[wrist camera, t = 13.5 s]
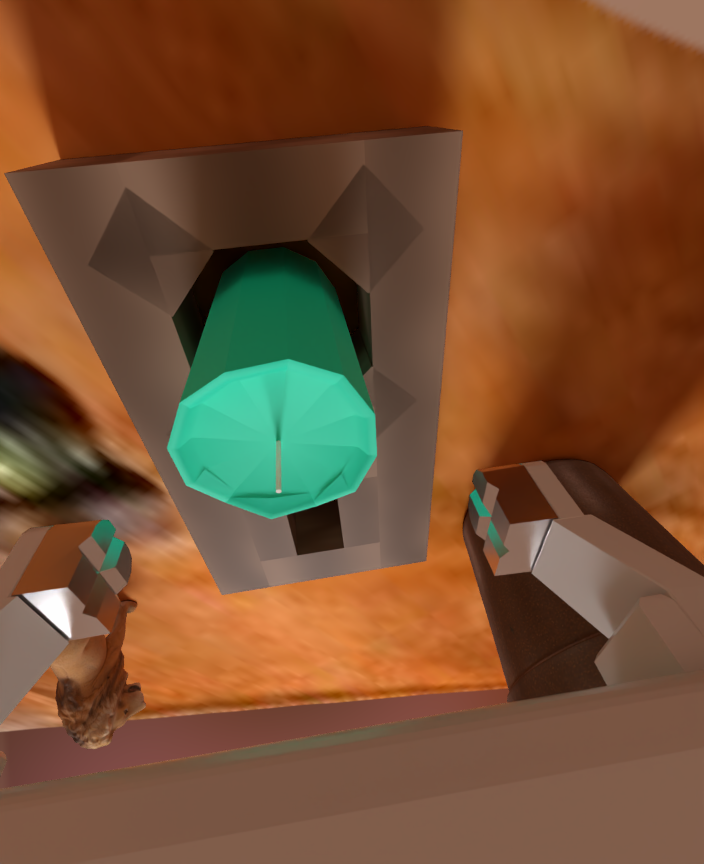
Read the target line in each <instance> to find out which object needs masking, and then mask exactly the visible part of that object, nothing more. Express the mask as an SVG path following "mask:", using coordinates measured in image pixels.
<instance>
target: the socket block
mask: <svg viewBox="0 0 704 864" xmlns="http://www.w3.org/2000/svg"><path fill="white" fill-rule="evenodd" d="M462 136H463V131H461V130H453V129H445V128H438V127H430V126H424V127H413V128H402V129H391V130H380V131H369V132H358V133H347V134H336V135H325V136H314V137H303V138H292V139H281V140H271V141H260V142H249V143H238V144H227V145H216V146H205V147H194V148H183V149H172V150H161V151H150V152H139V153H128V154H118V155H107V156H96V157H85V158H74V159H63V160H57V161H53V162H49V163H45V164H41V165H37V166H33V167H28V168H24V169H20V170H16V171H12V172H8V173H4V174H5V176H6V178H7V180H8V182H9V184H10V186H11V188H12V190H13V191H14V193H15V195H16V197H17V199H18V201H19V203H20V205H21V207H22V209H23V211H24V213H25V215H26V217H27V219H28V220H29V222H30V224H31V226H32V228H33V230H34V232H35V234H36V236H37V238H38V240H39V242H40V244H41V246H42V248H43V250H44V251H45V253H46V255H47V257H48V259H49V261H50V263H51V265H52V267H53V269H54V271H55V273H56V275H57V277H58V279H59V280H60V282H61V284H62V286H63V288H64V290H65V292H66V294H67V296H68V298H69V300H70V302H71V304H72V306H73V308H74V309H75V311H76V313H77V315H78V317H79V319H80V321H81V323H82V325H83V327H84V329H85V331H86V333H87V335H88V337H89V339H90V340H91V342H92V344H93V346H94V348H95V350H96V352H97V354H98V356H99V358H100V360H101V362H102V364H103V366H104V368H105V369H106V371H107V373H108V375H109V377H110V379H111V381H112V383H113V385H114V387H115V389H116V391H117V393H118V395H119V397H120V399H121V400H122V402H123V404H124V406H125V408H126V410H127V412H128V414H129V416H130V418H131V420H132V422H133V424H134V426H135V428H136V429H137V431H138V433H139V435H140V437H141V439H142V441H143V443H144V445H145V447H146V449H147V451H148V453H149V455H150V457H151V459H152V460H153V462H154V464H155V466H156V468H157V470H158V472H159V474H160V476H161V478H162V480H163V482H164V484H165V486H166V488H167V489H168V491H169V493H170V495H171V497H172V499H173V501H174V503H175V505H176V507H177V509H178V511H179V513H180V515H181V517H182V518H183V520H184V522H185V524H186V526H187V528H188V530H189V532H190V534H191V536H192V538H193V540H194V542H195V544H196V546H197V548H198V549H199V551H200V553H201V555H202V557H203V559H204V561H205V563H206V565H207V567H208V569H209V571H210V573H211V575H212V577H213V578H214V580H215V582H216V584H217V586H218V588H219V590H220V592H221V594H222V595H225V594H231V593H237V592H243V591H249V590H255V589H261V588H267V587H273V586H279V585H285V584H291V583H297V582H303V581H309V580H315V579H321V578H327V577H333V576H339V575H345V574H351V573H357V572H363V571H369V570H375V569H381V568H387V567H393V566H399V565H405V564H411V563H417V562H423V561H426V557H427V546H428V534H429V522H430V511H431V499H432V487H433V475H434V464H435V452H436V440H437V429H438V417H439V405H440V394H441V382H442V370H443V358H444V347H445V335H446V323H447V312H448V300H449V288H450V277H451V265H452V253H453V241H454V230H455V218H456V206H457V195H458V183H459V171H460V160H461V148H462ZM299 240H307V241H308V242H309V243H310V244H311V245H312V246H314V247H315V248H316V249H317V250H318V251H319V252H321V253H322V254H323V255H324V256H325V257H326V258H328V259H329V260H330V261H331V262H332V263H334V264H335V265H336V266H337V267H338V268H339V269H341V270H342V271H343V272H344V273H345V274H346V275H348V276H349V277H350V278H351V279H352V280H354V281H355V282H356V288H357V305H358V322H359V329H357V330H356V331H355V332H354V333H353V334H352V336H351V340H352V343H353V346H354V349H355V352H356V356H357V359H358V362H359V365H360V368H361V371H362V375H363V378H364V381H365V384H366V387H367V390H368V394H369V397H370V400H371V403H372V406H373V409H374V413H375V421H376V443H377V457H376V458H375V460H374V462H373V463H372V465H371V467H370V468H369V470H368V472H367V473H366V475H365V477H364V478H363V480H362V482H361V483H360V485H359V487H358V488H357V490H356V492H353V493H351V494H348V495H345V496H343V497H340V498H337V501H333V502H327V503H324V504H321V505H319V506H316V507H312V508H309V509H305V510H302V511H298V512H295V513H292V514H288V515H285V516H281V517H278V518H274V519H269V518H266V517H263V516H261V515H258V514H255V513H252V512H250V511H247V510H244V509H241V508H239V507H236V506H233V505H230V504H228V503H225V502H223V501H220V500H218V499H216V498H213V497H211V496H209V495H207V494H204V493H202V492H200V491H197V490H195V489H193V488H191V487H188V486H186V484H185V483H184V481H183V479H182V477H181V475H180V473H179V471H178V469H177V467H176V465H175V463H174V461H173V459H172V457H171V456H170V454H169V452H168V450H167V446H168V442H169V439H170V435H171V432H172V428H173V424H174V421H175V417H176V414H177V410H178V406H179V403H180V400H181V397H182V394H183V391H184V388H185V385H186V382H187V379H188V376H189V373H190V370H191V367H192V364H193V361H194V357H195V354H196V351H197V348H198V345H199V342H200V339H201V336H202V333H203V330H204V326H203V323H202V320H201V317H200V314H199V311H198V307H197V304H196V301H195V298H194V295H193V292H192V289H191V287H192V286H193V284H194V282H195V281H196V279H197V278H198V276H199V274H200V273H201V271H202V270H203V268H204V266H205V265H206V263H207V262H208V260H209V258H210V257H211V255H212V254H213V252H214V250H217V249H226V248H235V247H244V246H253V245H263V244H272V243H281V242H290V241H299Z"/></svg>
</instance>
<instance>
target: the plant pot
mask: <svg viewBox="0 0 704 864" xmlns="http://www.w3.org/2000/svg"><path fill="white" fill-rule="evenodd" d="M545 463H546V464H547V465H548V467H549V468H550V469H551V471H552V472H553V473H554V475H555V476H556V477H557V479H558V480H559V481H560V483H561V484H562V486H563V487H564V488H565V490H566V491H567V492H568V494H569V495H570V496H571V498H572V499H573V500H574V502H575V503H576V504H577V506H578V507H579V508H580V510H581V511H582V513H583V514H584V515H590V514H591V515H593V516H595V517H597V518H598V519H600V520H602V521H604V522H606V523H607V524H609V525H611V526H613V527H615V528H616V529H618V530H620V531H622V532H624V533H625V534H627V535H629V536H631V537H633V538H634V539H636V540H638V541H640V542H642V543H643V544H645V545H647V546H649V547H651V548H652V549H654V550H656V551H658V552H660V553H661V554H663V555H665V556H667V557H669V558H670V559H672V560H674V561H676V562H678V563H679V564H681V565H683V566H685V567H687V568H688V569H690V570H692V571H694V572H696V573H697V574H699V575H701V576H703V577H704V565H703V564H702V563H701V562H700V561H699V560H698V559H697V558H696V557H694V556H693V555H692V554H691V553H690V552H689V551H688V550H687V549H686V548H685V547H684V546H683V545H682V544H681V543H680V542H679V541H678V540H676V539H675V538H674V537H673V536H672V535H671V534H670V533H669V532H668V531H667V530H666V529H665V528H664V527H663V526H662V525H661V524H660V523H658V522H657V521H656V520H655V519H654V518H653V517H652V516H651V515H650V514H649V513H648V512H647V511H646V510H645V509H644V508H643V507H641V506H640V505H639V504H638V503H637V502H636V501H635V500H634V499H633V498H632V497H631V496H630V495H629V494H628V493H627V492H626V491H625V490H624V489H623V488H621V487H620V486H619V485H618V484H617V483H616V482H615V481H614V480H613V479H612V477H611V476H609V475H608V474H607V473H606V472H605V471H603V470H602V469H600V468H599V467H597V466H596V465H595V464H592V463H590V462H586V461H582V460H570V459H568V460H553V461H548V462H545ZM463 537H464V541H465V545H466V548H467V551H468V554H469V557H470V560H471V564H472V567H473V570H474V574H475V577H476V580H477V584H478V587H479V590H480V594H481V597H482V600H483V604H484V607H485V610H486V614H487V617H488V620H489V623H490V627H491V630H492V634H493V637H494V641H495V644H496V647H497V651H498V654H499V658H500V661H501V665H502V668H503V672H504V675H505V678H506V682H507V685H508V688H509V694H508V698H507V703H509V702H515V701H521V700H526V699H532V698H538V697H544V696H550V695H556V694H562V693H567V692H573V691H579V690H585V689H591V688H597V687H603V686H607V684H606V683H605V681H604V679H603V677H602V675H601V673H600V672H599V670H598V668H597V666H596V664H595V662H594V661H595V659H596V656H597V654H598V653H599V651H600V650H601V649H602V647H603V646H604V645H605V643H606V642H607V641H608V640H609V639H608V638H607V637H606V636H605V635H604V634H602V633H601V632H600V631H599V630H598V629H596V628H595V627H594V626H593V625H592V624H591V623H589V622H588V621H587V620H586V619H585V618H584V617H582V616H581V615H580V614H579V613H578V612H577V611H575V610H574V609H573V608H572V607H571V606H569V605H568V604H567V603H566V602H565V601H564V600H562V599H561V598H560V597H559V596H558V595H557V594H555V593H554V592H553V591H552V590H551V589H549V588H548V587H547V586H546V585H545V584H544V583H542V582H541V581H540V580H539V579H538V578H537V577H535V576H534V575H533V574H532V571H530V572H522V573H514V574H506V575H498V576H494V573H493V571H492V569H491V567H490V564H489V562H488V560H487V558H486V556H485V553H484V551H483V549H484V544H485V540H484V539H482V538H481V537H479V536H478V535H477V534H476V533H475V531H474V528H473V526H472V523H471V520H470V516H469V511H468V513H467V515H466V518H465V520H464V524H463Z"/></svg>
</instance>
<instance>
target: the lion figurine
mask: <svg viewBox="0 0 704 864" xmlns="http://www.w3.org/2000/svg"><path fill="white" fill-rule="evenodd" d="M136 607H137V603H135V602H133V601H122V602H121V605H120V608H119V611H118V614H117V617H116V620H115V623H114V626H113V629H112V632H111V633H110V634H109V635H108V636H107V637H106V638H105V636H104V635H99V636H93V637H87V638H82V639H76V640H70V641H68V642H69V644H68V645H67V646H66V648H65V649H64V650H63V651H62V652H61V653H60V655H59V656H58V657H57V658H56V659H55V661H54V662H53V663H52V664H51V665H50V667H51V668H52V670H53V672H54V673H55V675H56V676H57V678H58V683H57V689H56V697H55V699H56V702H57V706H58V715H59V717H60V718H61V719H62V723H63V727H64V728H65V729H66V731H67V734H68V735H70V736H71V737H72V738H73V740H74V741H75V742H76V743H79V744H80V746H81V747H85V748H92V749H96V748H99V747H102V746H106V745H108V744H110V742H111V740H112V736H113V733H114V731H115V730H116V729H118V728H119V727H121V726H123V725H124V724H125V722H126V720H127V719H128V718H130V717H131V716H133V715H134V714H136V713H137V712H139V711H141V710H142V709H143V708H144V707H145V706H146V703H145V702H144V696H143V693H142V692H141V685H140V683H134V684H129V685H127V684H126V680H127V678H128V673H127V672H126V671H125V670H124V669H123V668H124V655H123V654H122V651H121V647H122V644H123V640H124V636H125V623H126V616H127V613H131V612H133V611H134V610H135V609H136Z"/></svg>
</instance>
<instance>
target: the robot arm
mask: <svg viewBox="0 0 704 864" xmlns="http://www.w3.org/2000/svg"><path fill="white" fill-rule="evenodd" d="M472 482H473V484H474V486H475V488H476V489H475V490H474V491H473V492H472V493H471V494H470V496H469V503H468V507H469V516H470V520H471V523H472V526H473V528H474V531H475V533H476V534H477V535H478V536H479V537H481V538H482V539H484V540H485V544H484V549H483V551H484V553H485V556H486V558H487V560H488V562H489V564H490V567H491V569H492V571H493V573H494V576H498V575H506V574H514V573H522V572H530V571H532V574H533V575H534V576H535V577H537V578H538V579H539V580H540V581H541V582H542V583H544V584H545V585H546V586H547V587H548V588H549V589H551V590H552V591H553V592H554V593H555V594H557V595H558V596H559V597H560V598H561V599H562V600H564V601H565V602H566V603H567V604H568V605H569V606H571V607H572V608H573V609H574V610H575V611H577V612H578V613H579V614H580V615H581V616H582V617H584V618H585V619H586V620H587V621H588V622H589V623H591V624H592V625H593V626H594V627H595V628H596V629H598V630H599V631H600V632H601V633H602V634H604V635H605V636H606V637H607V638H608V639H609V640H608V641H607V642H606V643H605V645H604V646H603V647H602V649H601V650H600V651H599V653H598V654H597V656H596V659H595V661H594V662H595V664H596V666H597V668H598V670H599V672H600V673H601V675H602V677H603V679H604V681H605V683H606V684H607V686H603V687H597V688H591V689H585V690H579V691H573V692H567V693H562V694H556V695H550V696H544V697H538V698H532V699H526V700H521V701H515V702H509V703H503V704H497V705H491V706H486V707H480V708H474V709H468V710H462V711H456V712H451V713H445V714H438V715H432V716H427V717H421V718H415V719H409V720H403V721H397V722H391V723H385V724H380V725H374V726H368V727H362V728H356V729H350V730H345V731H339V732H333V733H327V734H321V735H316V736H310V737H303V738H297V739H292V740H286V741H280V742H274V743H269V744H262V745H256V746H250V747H245V748H239V749H233V750H227V751H221V752H216V753H210V754H204V755H198V756H192V757H186V758H180V759H174V760H168V761H162V762H157V763H151V764H145V765H139V766H133V767H128V768H121V769H115V770H110V771H104V772H98V773H92V774H86V775H80V776H75V777H69V778H63V779H57V780H51V781H45V782H39V783H34V784H27V785H22V786H16V787H10V788H4V789H0V864H704V577H703V576H701V575H699V574H697V573H696V572H694V571H692V570H690V569H688V568H687V567H685V566H683V565H681V564H679V563H678V562H676V561H674V560H672V559H670V558H669V557H667V556H665V555H663V554H661V553H660V552H658V551H656V550H654V549H652V548H651V547H649V546H647V545H645V544H643V543H642V542H640V541H638V540H636V539H634V538H633V537H631V536H629V535H627V534H625V533H624V532H622V531H620V530H618V529H616V528H615V527H613V526H611V525H609V524H607V523H606V522H604V521H602V520H600V519H598V518H597V517H595V516H593V515H591V514H590V515H584V514H583V513H582V511H581V510H580V508H579V507H578V506H577V504H576V503H575V502H574V500H573V499H572V498H571V496H570V495H569V494H568V492H567V491H566V490H565V488H564V487H563V486H562V484H561V483H560V481H559V480H558V479H557V477H556V476H555V475H554V473H553V472H552V471H551V469H550V468H549V467H548V465H547V464H546V463H545V462H543V461H535V462H528V463H520V464H512V465H505V466H498V467H491V468H484V469H478V470H476V471H475V473H474V475H473V480H472ZM115 531H116V529H115V528H114V526H113V525H112V524H111V522H110V521H109V520H96V521H87V522H78V523H69V524H59V525H53V526H44V527H35V528H30V529H28V530H27V531H26V532H24V533H23V534H22V535H21V537H20V538H19V540H18V541H17V543H16V545H15V546H14V548H13V549H12V551H11V553H10V554H9V556H8V557H7V559H6V561H5V562H4V564H3V566H2V567H1V569H0V725H1V723H2V722H3V721H4V720H5V719H6V717H7V716H8V715H9V714H10V713H11V712H12V710H13V709H14V708H15V707H16V706H17V704H18V703H19V702H20V701H21V700H22V699H23V697H24V696H25V695H26V694H27V693H28V691H29V690H30V689H31V688H32V687H33V685H34V684H35V683H36V682H37V681H38V680H39V678H40V677H41V676H42V675H43V674H44V672H45V671H46V670H47V669H48V668H49V667H50V665H51V664H52V663H53V662H54V661H55V659H56V658H57V657H58V656H59V655H60V653H61V652H62V651H63V650H64V649H65V648H66V646H67V645H68V644H69V642H68V641H70V640H76V639H82V638H87V637H93V636H99V635H104V634H110V633H111V632H112V629H113V626H114V623H115V620H116V617H117V614H118V611H119V608H120V605H121V602H120V600H119V598H118V595H117V594H118V593H119V592H120V591H121V590H122V589H123V588H124V587H125V586H126V585H127V584H128V580H129V577H130V574H131V562H132V558H131V554H130V551H129V548H128V547H127V545H126V544H125V542H123V541H121V540H119V539H117V538H115V537H113V536H114V533H115ZM6 761H7V758H6V756H5V754H4V753H3V752H1V751H0V776H1V773H2V771H3V769H4V766H5V764H6Z"/></svg>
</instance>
